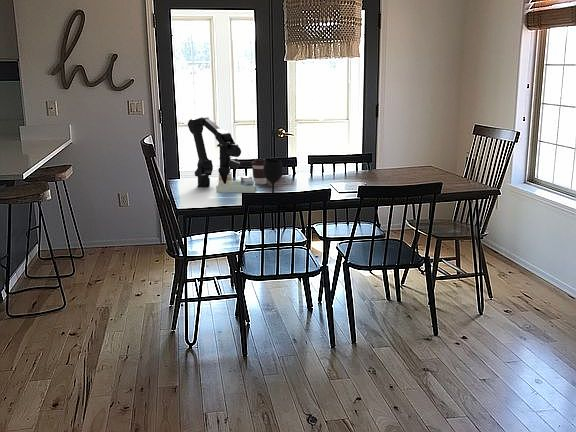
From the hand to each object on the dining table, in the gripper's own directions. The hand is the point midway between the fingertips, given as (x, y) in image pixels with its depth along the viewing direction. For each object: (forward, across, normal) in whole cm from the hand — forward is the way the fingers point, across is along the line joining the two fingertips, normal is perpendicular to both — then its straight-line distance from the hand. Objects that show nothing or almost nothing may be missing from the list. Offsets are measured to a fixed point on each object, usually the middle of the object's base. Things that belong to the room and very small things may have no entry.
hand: (225, 182), depth 350 cm
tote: (+4, 0, -6) cm, 8 cm away
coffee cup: (+5, +19, -20) cm, 28 cm away
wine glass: (+5, -21, -26) cm, 34 cm away
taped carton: (+2, 0, 0) cm, 2 cm away
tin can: (+4, 0, -12) cm, 13 cm away
